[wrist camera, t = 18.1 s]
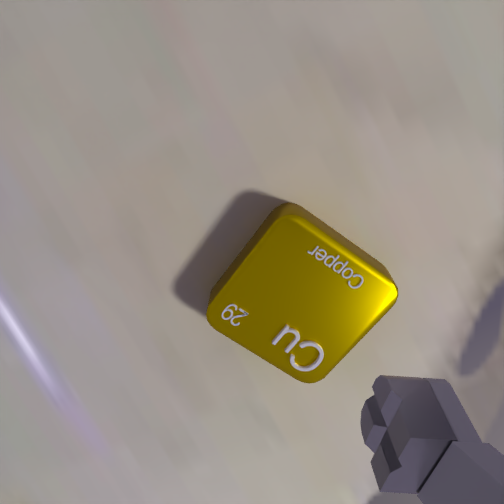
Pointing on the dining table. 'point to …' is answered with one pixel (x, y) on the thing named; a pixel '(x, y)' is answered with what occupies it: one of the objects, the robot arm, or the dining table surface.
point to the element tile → (300, 294)
